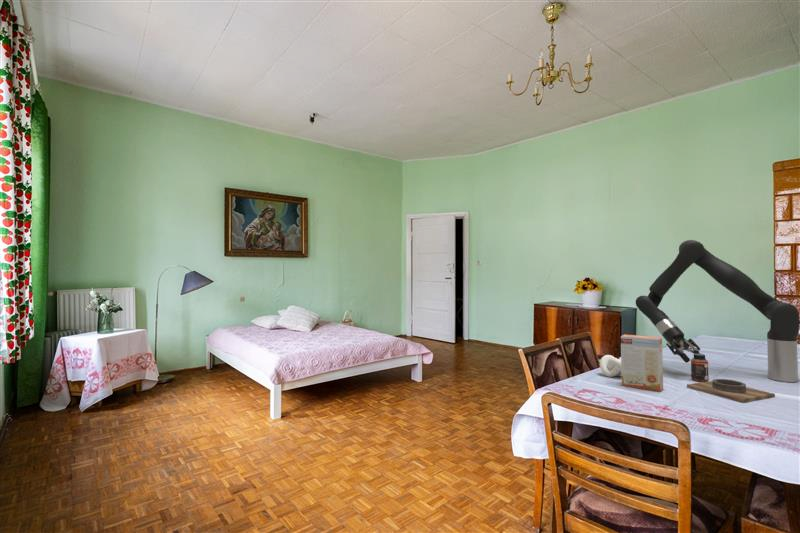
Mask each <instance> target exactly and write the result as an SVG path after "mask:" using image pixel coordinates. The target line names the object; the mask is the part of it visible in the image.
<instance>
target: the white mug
mask: <svg viewBox="0 0 800 533" xmlns="http://www.w3.org/2000/svg"><path fill="white" fill-rule="evenodd" d="M599 368H600V371H601V373H603V375H605V376H606V377H608V378H615V377H616V376H618V375H619V376H620V377H622V376H621V356H619V358H617V357H614V356H613V355H611V354H605V355H604V356H602V357H601V358H600V360H599Z"/></svg>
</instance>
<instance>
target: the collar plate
mask: <svg viewBox="0 0 800 533" xmlns="http://www.w3.org/2000/svg"><path fill="white" fill-rule="evenodd" d="M686 388H688V389H691V390H695V391H697V392H698V391H699V392H702V393H705V394H709V395H712V396H717V397H719V398H724V399H728V400H731V401H735V402H739V403H742V404H745V403H750V402H754V401H755V400H756V401H760V400H765V399H766V400H767V399H772V398H775V397H776V393H774V392H769V391H765V390H760V389H756V388H752V387H748V386H747V384H746V383H744V382H742V381H738V380H734V379H726V378H716V379H712V380H708V381H707V382H694V383H688V384H686Z"/></svg>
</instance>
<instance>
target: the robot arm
mask: <svg viewBox="0 0 800 533" xmlns="http://www.w3.org/2000/svg"><path fill="white" fill-rule="evenodd" d="M693 264H695V265H696V266H698V267H699V268H701V269H702V270H703V271H705V273H707V274H708V275H709V276H710V277H711V278H712V279H713V280H715V281H716V282H717V284H720V285H721V286H722V287H724V288H725V289H727V290H728V291H729V292H731V293H732V294H734V295H735V296H737V297H739V298H740V299H741V300H744V301H745V302H747V303H749V304H750V305H752V307H754V308H755V309H756V310H757V311H759V312H760V313H761V314H762V315H763V316H764V317H765V318H766V319H767V320H769V321H770V324H769V325H770V328H769V330H768V331H767V332H766V333H767V334H766V338H767V339H766V340H767V343H766V345H767V346H766V347H767V378H768V379H770V380H774V381H778V382H783V383H784V382H785V383H797V382H798V381H799V368H798V366H799V364H798V361H799V360H798V335H799V333H800V312H799V310H798V308H797V307H796V306H795V305H793V304H791V303H788V302H783V301H780V300H778V299H776V298H775V297H773V296H771V295H770V294H768V293H766V292H765V291H764V290H763V289H762V288H761V287H760V286H759V285H758V284H757V283H756V282H755V281H754V280H753V279H752V278H751V277H750V276H749V275H747V274H746V273H744V272H743V271H741V270H740V269H739V268H736V267H735V266H734V265H732V264H730V263H728V262H726V261H724V260H723V259H720V258H718V257H717V256H715V255H714V254H712V253H711V252H710V251H709V250H707V249H706V248H705V246H704V244H702V242H700V241H697V240H695V239H688V240H684V241H683V242H681V244H679V247H678V254H677V255H676V256H675V259H674V260H673V261H672V262H671V263H670V265H668V267H667V268H666V269H665V270H664V271H662V273H660V274H659V275H658V276H657V278H656V279H655V280H654V281H653V282H652V284H651V285H650V286H649V287H648V288H649V291H650V292H648V295H640V296H638V297H636V299H635V306H636V307H637V309H638V311H639V312H641V313H642V314H643V315H644V316H645V317H646V318H648V319H649V321H650V322H651V323H652V324H653V325H654V327H655V328H656V329H657V331H658V332H659V333H660V335H661V336H662V338H663V339H664V340H665V341H666V342H667V343H666V346H667V348H668V349H669V350H670V351H671V352H672V354H673V355H674V356H676V355H677V356H678V357H680V358H681V359H682V360H683V362H685V364H689V362H691V358H690V357H689V356H688V355H687V354H686V353H685V352H684V351H687V352H689V353H692V354H693V355H694V354H696V353H697V354H701V352H700V351H701V348H700V347H699V345H698V344H697V343H696V342H695V341H694V340H693V339H692V338H689V339H686V338H685V333H684V332H683V331H682V330H681V329H680V327H679V326H678V325H677V324H676V323H675V322H674V321H673V320H672V319H671V318H670V317H669V316H668V315H667V314H666V313H665V312H664V310H662V309H660V308H658V307H659V306H660V304H661V302H662V300H663V298H664V296H665V295H666V294H667V293H668V292H669V291H670V289H671V288H672V287H673V286H674V284H675V283H676V282H677V281H678V280H679V278H680V277H681V276H682V275H683V274H684V273H685V271H686V270H688V269H689V268H690V267H691V266H692V265H693Z"/></svg>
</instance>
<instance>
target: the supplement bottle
mask: <svg viewBox="0 0 800 533" xmlns="http://www.w3.org/2000/svg"><path fill="white" fill-rule="evenodd" d="M690 371H691V372H690V375H691V380H693V381H694V380H695V381H694V382H698V383H700V382H707V381H709V379H710V378H709V360H707V359H706V355H705V354H704V353H700V354H697V353H696V354H693V357H692V358H690Z"/></svg>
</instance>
